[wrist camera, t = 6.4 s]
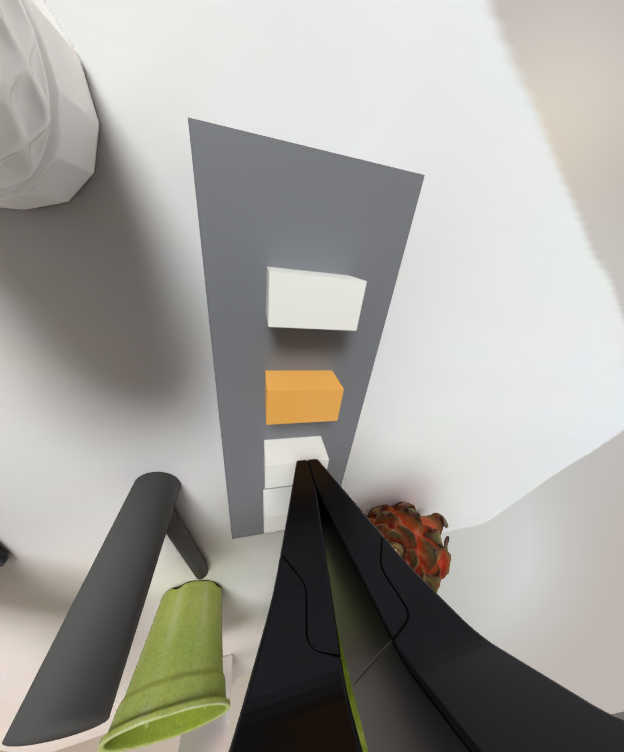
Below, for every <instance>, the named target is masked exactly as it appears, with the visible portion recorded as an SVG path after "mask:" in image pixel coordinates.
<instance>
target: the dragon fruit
mask: <svg viewBox="0 0 624 752" xmlns="http://www.w3.org/2000/svg"><path fill="white" fill-rule="evenodd" d="M368 519H369V520H370V521H371V523H372V524H373V525H374V526H375V527H376V528H377V530H378V531H379V532H380V533H381V535H382V536H383V537H384V538H385V539H386V540H387V541H388V542H389V544H390V545H391V546H392V547H393V548H394V549H395V551H396V552H397V553H398V554H399V555H400V556H401V557H402V558H403V560H404V561H405V562H406V563H407V564H408V565H409V566H410V567H411V568H412V569H413V570H414V571H415V572H416V573H417V574H418V575H419V576H420V577H421V578H422V579H423V580H424V581H425V582H426V583H427V584H428V585H429V586H430V587H431V588H432V589H433V590H434V591H435V592H436V593H437V590H438V588H439V586H440V582H441V579H443V578H445V576H446V575H447V574H448V573H449V567H450V561H451V555H450V553H449V552H448V549H447V545H448V542H449V536H447V537H446V538H445V541H444V546H443V544H442V541H441V537H440V535H441V533H442V530H443V526H445V527H446V528H447V527H448V523H447V521H446V519H445V518H444V517H443V516H442V515H441V514H439V513H433V514H431V515H428V516H420V514H419V513H418V512H416V509H415V507H414V505H412V504H410V503H404V502H399V503H398V504H397V505H395V506H394V508H392V507H391V506H388V505H385V506H379V507H376V508H374V509H371V511H370V513H369V518H368Z"/></svg>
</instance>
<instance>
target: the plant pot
mask: <svg viewBox="0 0 624 752" xmlns="http://www.w3.org/2000/svg"><path fill="white" fill-rule="evenodd" d="M229 708H230V700H229V699H228V698H226V682H225V675H224V673H223V652H222V602H221V587H217V586H216V584H215V583H214V582H211V581H191V582H188V583H185V584H184V585H183V586H182V587H180V588H178V589H170V590H169V591H167V592H166V593H165V594H164V596H163V597H162V599H161V602H160V605H159V608H158V610H157V613H156V616H155V618H154V621H153V624H152V626H151V629H150V632H149V634H148V637H147V640H146V643H145V645H144V648H143V650H142V653H141V656H140V658H139V661H138V664H137V666H136V669H135V672H134V674H133V677H132V679H131V682H130V684H129V687H128V690H127V692H126V695H125V697H124V699H123V701H122V702H121V703H120V705H119V707H118V709H117V711H116V714H115V716H114V719H113V721H112V724H111V726H110V729H109V731H108V733H107V734H106V735H105V736H104V737H103V738H102V739H101V741H100V743H99V746H98V751H99V752H120V751H126V750H130V749H135V748H139V747H143V746H147V745H151V744H154V743H157V742H161V741H164V740H167V739H170V738H173V737H175V736H178V735H181V734H184V733H187V732H190V731H192V730H194V729H196V728H199V727H201V726H203V725H205V724H207V723H209V722H211V721H213V720H215V719H217V718H219V717H221V716H222V715H224V714H225V713H226V712H227V711H228V710H229Z"/></svg>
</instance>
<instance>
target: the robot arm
mask: <svg viewBox="0 0 624 752" xmlns="http://www.w3.org/2000/svg"><path fill="white" fill-rule="evenodd" d="M8 559H9V556H8V555H7V554H6V553H5V552H4V551H2V550H1V549H0V567H1V566H3V565H4V564H5V563H6V561H7V560H8ZM336 624H337V625H336ZM337 628H338V632H339V636H340V640H341V644H342V648H343V652H344V656H345V660H346V664H347V668H348V672H349V676H350V680H351V684H352V685H353V686H352V688H353V692H354V696H355V700H356V704H357V708H358V712H359V716H360V720H361V724H362V728H363V732H364V736H365V740H366V744H367V748H368V752H624V712H621V713H616V714H609V713H607V712H605V711H603V710H601V709H599V708H598V707H596V706H594V705H592V704H590V703H589V702H587V701H586V700H584V699H582V698H581V697H579V696H577V695H576V694H574V693H573V692H571V691H569V690H568V689H566V688H564V687H563V686H561V685H559V684H558V683H556V682H554V681H553V680H551V679H550V678H548V677H546V676H544V675H543V674H541V673H540V672H538V671H536V670H535V669H533V668H531V667H530V666H528V665H526V664H525V663H523V662H522V661H520V660H518V659H517V658H515V657H513V656H512V655H510V654H508V653H507V652H505V651H503V650H502V649H500V648H498V647H497V646H495V645H494V644H492V643H491V642H489V641H488V640H487V639H485V638H484V637H483V636H481V635H480V634H479V633H478V632H476V631H475V630H473V628H472V627H470V626H469V625H468V624H467V623H466V622H465V621H464V620H463V619H462V618H461V617H460V616H459V615H458V614H457V613H456V612H455V611H454V610H453V609H452V608H451V607H450V606H449V605H448V604H447V603H446V602H445V601H444V600H443V599H442V598H441V597H440V596H439V595H438V594H437V593H436V592H435V591H434V590H433V589H432V588H431V587H430V586H429V585H428V584H427V583H426V582H425V581H424V580H423V579H422V578H421V577H420V576H419V575H418V574H417V573H416V572H415V571H414V570H413V569H412V568H411V567H410V566H409V565H408V564H407V563H406V562H405V561H404V560H403V558H402V557H401V556H400V555H399V554H398V553H397V552H396V551H395V549H394V548H393V547H392V546H391V545H390V544H389V542H388V541H387V540H386V539H385V538H384V537H383V536H382V535H381V533H380V532H379V531H378V530H377V528H376V527H375V526H374V525H373V524H372V523H371V521H370V520H369V519H368V518H367V517H366V515H365V514H364V513H363V512H362V511H361V510H360V508H359V507H358V506H357V505H356V504H355V503H354V501H353V500H352V499H351V498H350V497H349V495H348V494H347V493H346V492H345V491H344V490H343V488H342V487H341V486H340V485H339V484H338V482H337V481H336V480H335V479H334V478H333V477H332V475H331V474H330V473H329V472H328V471H327V470H326V468H325V467H324V466H323V465H322V464H321V462H320V461H319V460H318V459H309V460H298V461H297V462H296V467H295V473H294V479H293V485H292V490H291V496H290V502H289V508H288V514H287V520H286V526H285V531H284V537H283V543H282V549H281V556H280V560H279V566H278V572H277V577H276V582H275V587H274V592H273V596H272V600H271V604H270V608H269V612H268V616H267V620H266V623H265V627H264V630H263V634H262V638H261V641H260V645H259V648H258V652H257V656H256V659H255V663H254V666H253V670H252V673H251V677H250V681H249V684H248V688H247V691H246V695H245V698H244V702H243V706H242V709H241V712H240V716H239V719H238V723H237V726H236V730H235V733H234V736H233V739H232V743H231V746H230V749H229V752H363V751H362V747H361V743H360V739H359V736H358V732H357V728H356V724H355V721H354V717H353V713H352V709H351V705H350V702H349V697H348V693H347V688H346V683H345V677H344V672H343V665H342V660H341V658H340V657H341V652H340V645H339V639H338V632H337Z"/></svg>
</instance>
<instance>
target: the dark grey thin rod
mask: <svg viewBox="0 0 624 752" xmlns="http://www.w3.org/2000/svg"><path fill="white" fill-rule="evenodd" d="M166 534H167V535H168V537H169V538H170V540H171V541H172V543H173V544H174V546H175V547H176V549H177V550H178V551H179V553H180V554H181V556H182V557H183V559H184V560H185V562H186V563H187V565H188V566H189V568H190V569H191V571H192V572H193V573H194V575H195V576H196V578H197V579H203V578H204V577H206V575H207V573H208V566H207V564H206V562H205V561H204V559H203V557H202V556H201V554H200V552H199V550H198V549H197V547H196V545H195V544H194V542H193V540H192V538H191V537H190V535H189V533H188V532H187V530H186V528H185V526H184V525H183V523H182V521H181V520H180V518H179V516H178V515H177V513H176V511H175V510H174V509H173V512H172V515H171V519H170V522H169V525H168V528H167V532H166Z"/></svg>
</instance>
